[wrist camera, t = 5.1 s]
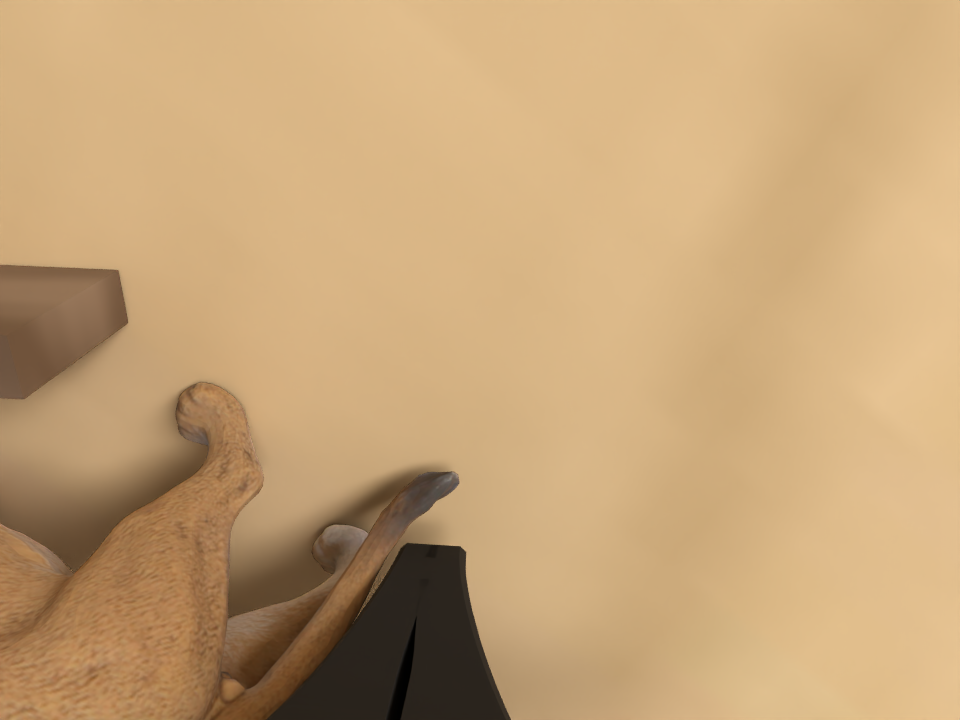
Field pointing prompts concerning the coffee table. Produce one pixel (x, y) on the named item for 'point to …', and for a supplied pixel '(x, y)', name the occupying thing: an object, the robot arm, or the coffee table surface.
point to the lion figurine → (181, 598)
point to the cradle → (52, 321)
